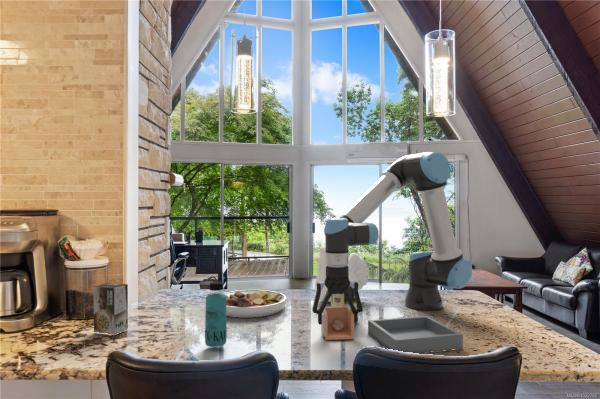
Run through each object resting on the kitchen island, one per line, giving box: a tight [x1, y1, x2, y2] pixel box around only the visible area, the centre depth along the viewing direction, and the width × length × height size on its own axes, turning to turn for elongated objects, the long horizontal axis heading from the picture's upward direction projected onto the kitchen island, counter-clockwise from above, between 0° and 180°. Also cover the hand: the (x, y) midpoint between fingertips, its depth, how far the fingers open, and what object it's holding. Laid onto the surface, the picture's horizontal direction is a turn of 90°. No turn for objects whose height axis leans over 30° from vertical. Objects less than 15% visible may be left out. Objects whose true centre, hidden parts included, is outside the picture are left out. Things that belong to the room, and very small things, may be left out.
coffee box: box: [92, 282, 129, 335], centre depth 137 cm, size 9×6×16 cm
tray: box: [367, 315, 464, 354], centre depth 129 cm, size 22×20×4 cm
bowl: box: [222, 289, 287, 319], centre depth 167 cm, size 30×30×8 cm
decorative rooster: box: [314, 246, 370, 303], centre depth 178 cm, size 25×16×25 cm, turn 94°
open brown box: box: [323, 306, 355, 341], centre depth 134 cm, size 9×9×8 cm
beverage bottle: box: [204, 281, 228, 348], centre depth 123 cm, size 6×7×20 cm
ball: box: [333, 320, 344, 331], centre depth 135 cm, size 4×4×4 cm
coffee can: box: [330, 281, 359, 324], centre depth 150 cm, size 10×10×14 cm
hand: (337, 333), depth 134 cm, fingers closed on open brown box, 9 cm apart
